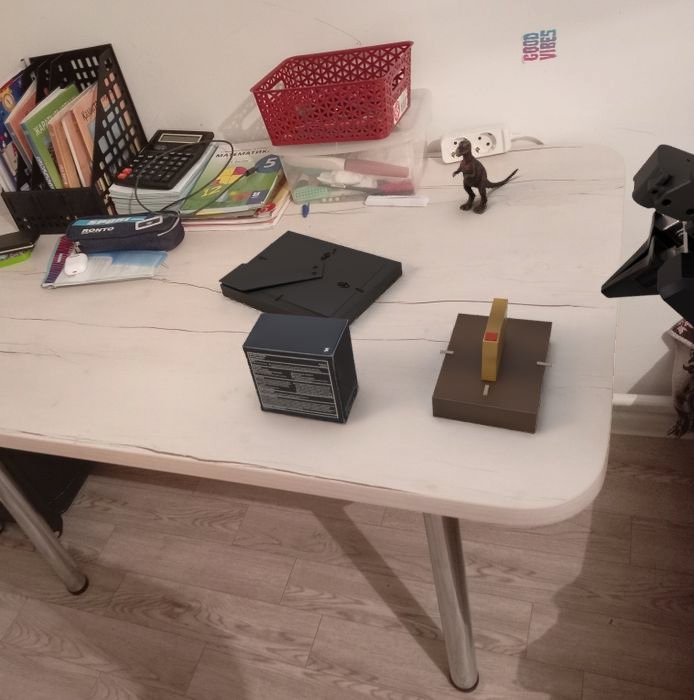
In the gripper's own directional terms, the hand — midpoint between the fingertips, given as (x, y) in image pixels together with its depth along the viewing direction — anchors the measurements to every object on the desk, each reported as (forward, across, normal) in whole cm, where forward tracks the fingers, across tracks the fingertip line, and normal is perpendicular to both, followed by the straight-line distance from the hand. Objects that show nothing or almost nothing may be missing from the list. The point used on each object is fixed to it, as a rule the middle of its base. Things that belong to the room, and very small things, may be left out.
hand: (604, 292), depth 59 cm
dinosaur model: (+20, -36, -3) cm, 41 cm away
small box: (+28, +10, -12) cm, 32 cm away
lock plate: (+14, +2, +2) cm, 15 cm away
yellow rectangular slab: (+12, +2, -1) cm, 12 cm away
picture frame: (+34, -11, -17) cm, 39 cm away
